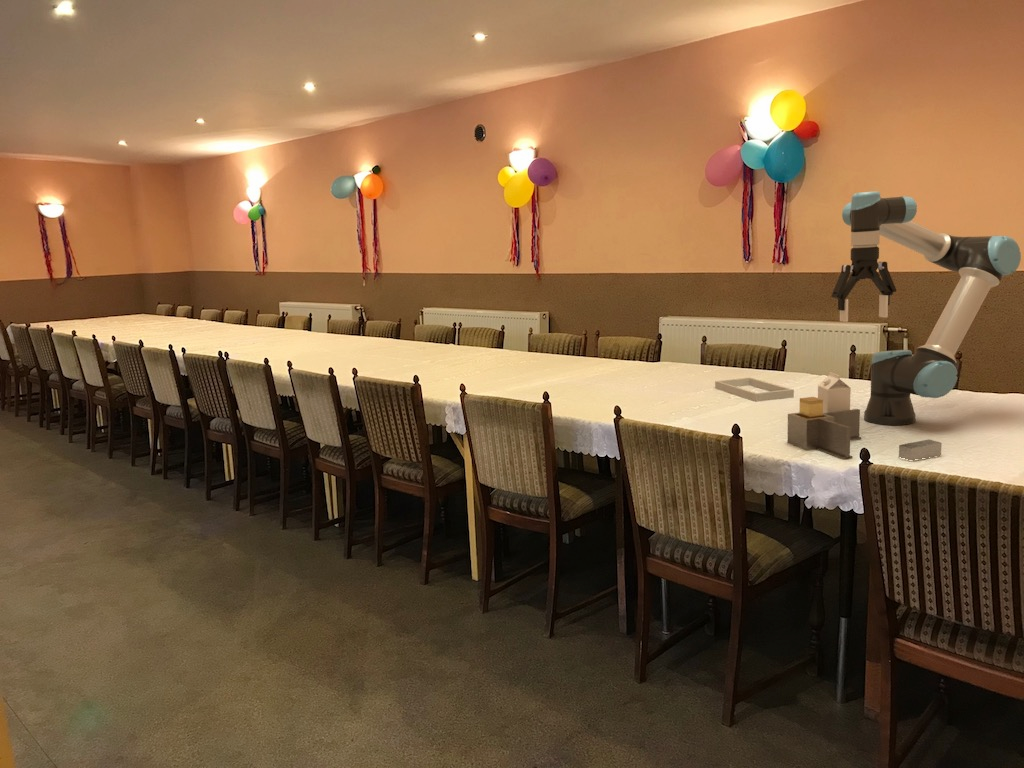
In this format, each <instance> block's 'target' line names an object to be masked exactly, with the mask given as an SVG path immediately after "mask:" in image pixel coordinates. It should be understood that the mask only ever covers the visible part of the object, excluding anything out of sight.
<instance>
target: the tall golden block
mask: <svg viewBox="0 0 1024 768" xmlns="http://www.w3.org/2000/svg"><path fill="white" fill-rule="evenodd" d="M798 410H799V412H798V413H799V416H801V417H804V418H807V419H810V418H818V417H823V399H819V398H818V397H815V396H809V397H808V396H807V397H800V398H799V409H798Z"/></svg>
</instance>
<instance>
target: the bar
mask: <svg viewBox="0 0 1024 768" xmlns="http://www.w3.org/2000/svg"><path fill="white" fill-rule="evenodd" d="M942 443H943V442H941V441H937V440H932V439H929V438H928V439H923V440H919V441H914V442H908V443H904V444H903V443H901V444H899V445H898V458H899V457H901V458H905V459H908V460H915V459H922V458H928V459H930V458H929V457H932V458H935V457H934V456H937V457H941V456H942V445H943V444H942ZM940 455H941V456H940Z"/></svg>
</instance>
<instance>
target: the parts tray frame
mask: <svg viewBox="0 0 1024 768" xmlns="http://www.w3.org/2000/svg"><path fill="white" fill-rule="evenodd" d="M745 386H751V387H754V388H756V389H757V388H758V389H761V390H765V392H755V391H751V390H748V389H745V388H742V387H745ZM714 389H716V390H719V391H722V392H724V393H725V392H726V393H728V394H731V395H734V396H737V397H741V398H744V399H746V400H750V401H752V402H755V403H756V402H765V401H766V402H767V401H772V400H773V401H774V400H783V399H791V398H792V399H793V398H794V395H795V390H794V389H793V388H790V387H787V386H783V385H779V384H776V383H775V384H774V383H772V382H768V381H764V380H761V379H756V378H754V377H743V378H735V379H734V378H733V379H724V380H715V382H714Z"/></svg>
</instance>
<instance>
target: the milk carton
mask: <svg viewBox="0 0 1024 768" xmlns="http://www.w3.org/2000/svg"><path fill="white" fill-rule="evenodd" d="M851 391H852V389H851V387H850V386H849V385H848V384H847V383H845V382H844V381H843V380H842V379H841V376H840V375H839V374H837V373H834V372H831V371H829V372H828V376H826V377H825V378H824V379H823V380H822V381H821V382H819V384H818V385H817V398H819V399H823V413H829V412H837V411H845V410H851V394H852V393H851Z"/></svg>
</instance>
